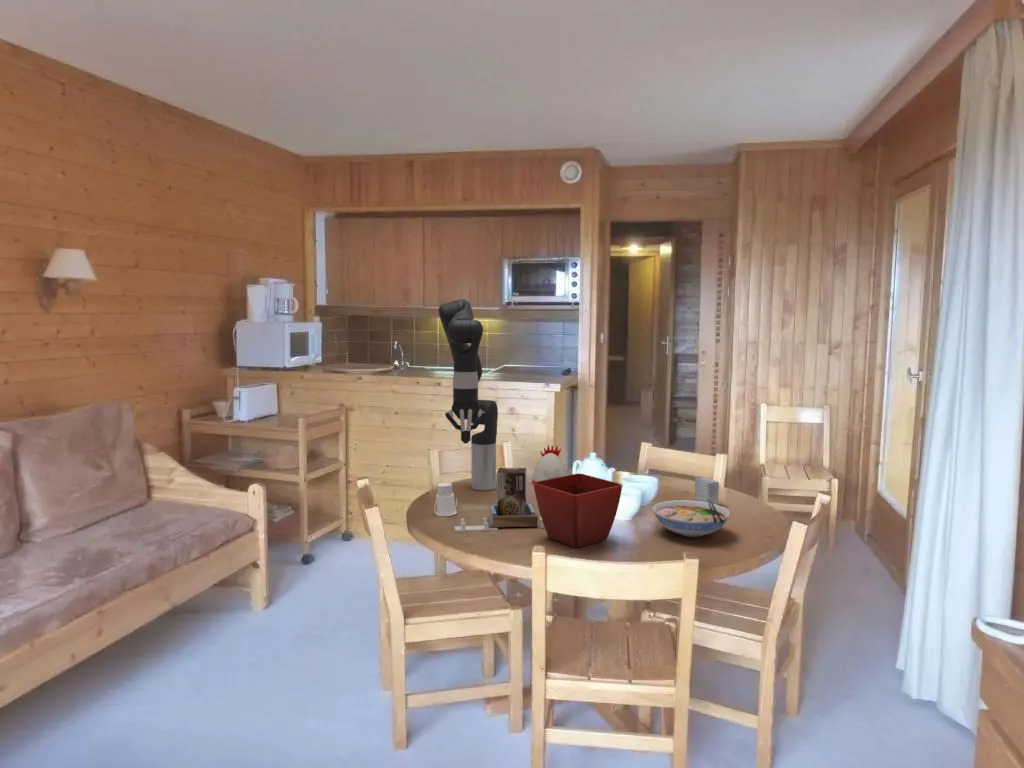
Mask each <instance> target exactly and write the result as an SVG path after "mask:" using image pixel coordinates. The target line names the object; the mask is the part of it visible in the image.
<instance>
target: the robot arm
mask: <svg viewBox="0 0 1024 768" xmlns="http://www.w3.org/2000/svg"><path fill="white" fill-rule="evenodd" d="M438 315H439V318H440V319H439V320H440V322H441V325H442V328H443V330H444V333H445V337H446V339H447V342H448V345H449V349H450V353H451V356H452V357H451V358H452V362H453V377H452V397H453V398H452V406H451V409H450V410H448V411H446V412H445V413H444V414H445V418H447V420H448V421H449V422H450V424H451V425H452V426H453V428H454V429H455V430H458V431H460V440H461V442H462V443H463V444H469V442H470V444H471V448H470V450H471V453H470V454H471V456H470V457H471V479H470V480H471V489H472V490H475V491H492V490H495V489H496V488H497V435H498V419H499V418H498V417H499V416H498V415H499V412H498V411H499V410H498V403H496V401H495V400H491V399H490V400H489V399H479V382H480V381H481V378H482V375H483V367H482V363H481V359H480V356H479V354H478V353H479V349H480V344H481V342H482V338H483V333H484V327H483V324H482V323H481V321H480V320H477V319H474V313H473V308H472V307H471V304H470V302H469V301H468V300H467V299H465V298H460V299H456V300H452V301H449V302H446V303H443V304H440V305H439V307H438ZM469 344H470V345H469ZM454 415H455V416H456V418H457V419H459V421H460V424H459V423H458V422H457V421H456V420H455V419H454ZM465 420H466V422H465ZM465 423H466V424H465ZM479 425H483V426H484V428H483V430H482V431H480V432H476V433H474V434H472V435H471V431H472V430H477V428H478V427H479Z"/></svg>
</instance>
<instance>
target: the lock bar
mask: <svg viewBox="0 0 1024 768" xmlns="http://www.w3.org/2000/svg"><path fill="white" fill-rule="evenodd" d="M486 518H487V523H488V526H492V527H497V528H513V527H514V528H519V527H520V528H521V527H538V522H539V519H538V518H539V517H538V515H537V514H535V515H512V516H492V518H490V517H486Z"/></svg>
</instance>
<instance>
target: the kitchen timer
mask: <svg viewBox="0 0 1024 768" xmlns="http://www.w3.org/2000/svg"><path fill="white" fill-rule="evenodd" d="M558 449H559V447H558V445H556V446H555V449H554V446H553V444H551V449H550V445H549V444H548V445H547V448H545V447H543V451H544V453H543V452H542V451H541V450H540V455H541V457H540V458H539V459H538V460H537V462H536V463H535V465H534V468H533V472H532V476H531V483H532V485H533V486H534V482H537V481H542V480H547V479H552V478H557V477H562V476H567V475H568V472H567V470H566V469H567V468H566V465H567V464H566V463H564V462H563V460H562V459H561V457H560V456H559V455H560V453H561V451H562V448H560V449H559V450H558Z"/></svg>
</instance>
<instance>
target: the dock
mask: <svg viewBox="0 0 1024 768" xmlns="http://www.w3.org/2000/svg"><path fill="white" fill-rule="evenodd" d="M526 514H527V515H536V511H535V508H534V507H533V505H532V503H531V502H529V503H527V502H526ZM492 516H498V503H497V504H496V503H493V504H489V518H492Z"/></svg>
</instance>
